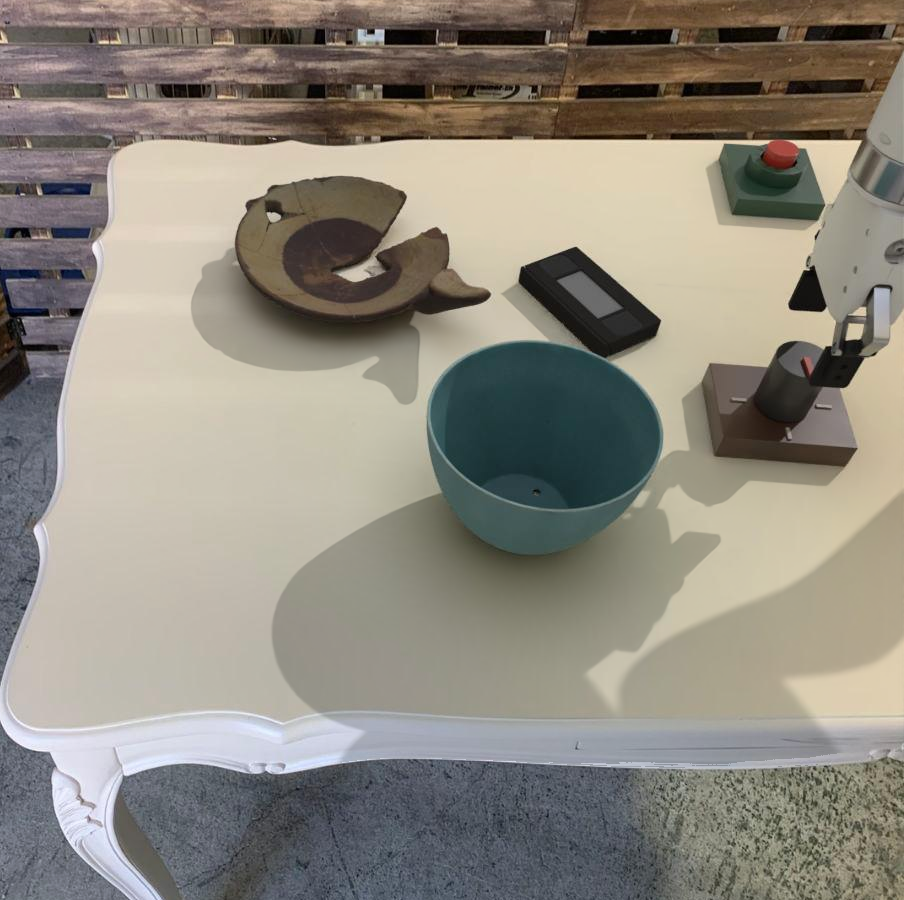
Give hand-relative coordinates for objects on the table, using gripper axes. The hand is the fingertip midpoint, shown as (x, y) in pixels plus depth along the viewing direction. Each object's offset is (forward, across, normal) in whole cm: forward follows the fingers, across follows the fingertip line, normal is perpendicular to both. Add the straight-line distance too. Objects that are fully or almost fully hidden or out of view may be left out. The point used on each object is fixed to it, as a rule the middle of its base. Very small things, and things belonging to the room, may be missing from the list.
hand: (815, 345), depth 79 cm
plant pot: (+9, -14, +25) cm, 30 cm away
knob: (+7, 0, +1) cm, 7 cm away
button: (+6, +40, -5) cm, 41 cm away
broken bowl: (+9, +15, +43) cm, 46 cm away
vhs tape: (+10, +15, +18) cm, 25 cm away
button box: (+10, +40, -5) cm, 41 cm away
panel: (+10, 0, +1) cm, 10 cm away
